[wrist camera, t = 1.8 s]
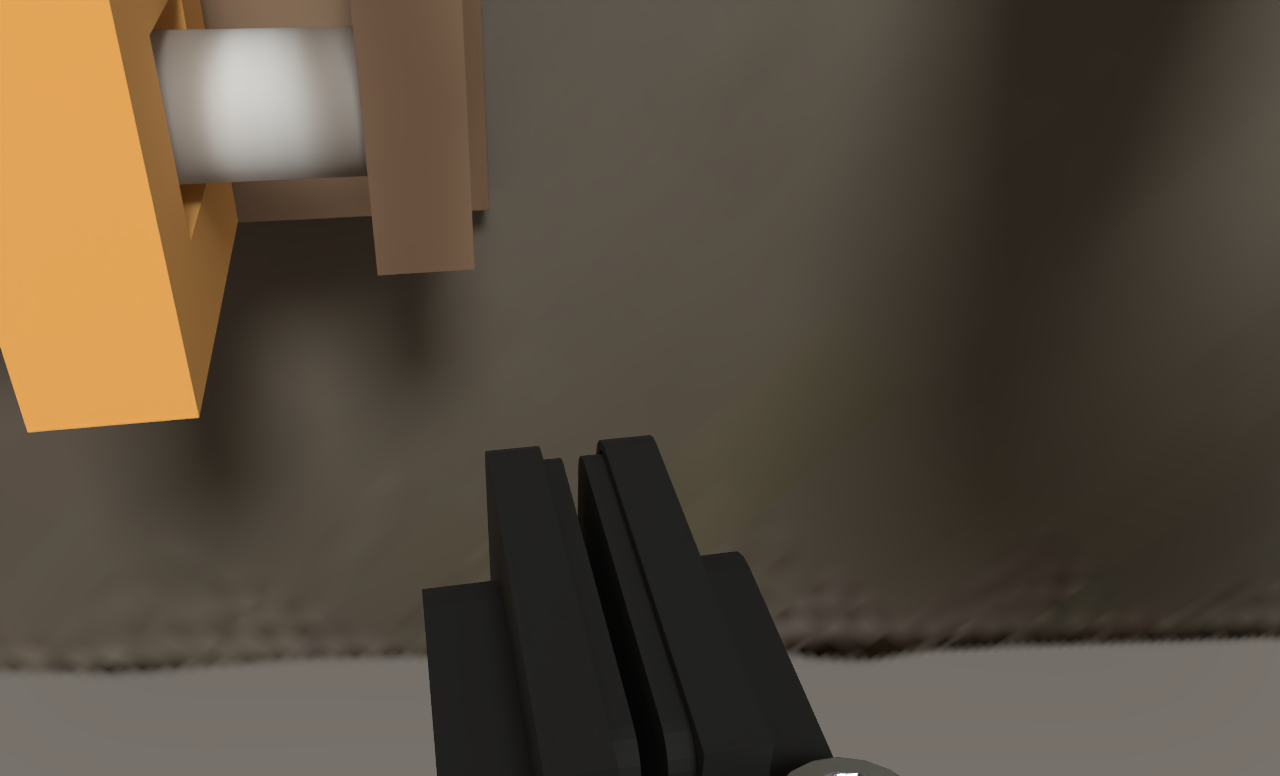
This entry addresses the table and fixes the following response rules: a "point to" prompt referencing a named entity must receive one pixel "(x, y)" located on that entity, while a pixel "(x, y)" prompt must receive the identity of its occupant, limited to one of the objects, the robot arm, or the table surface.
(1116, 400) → the table surface
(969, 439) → the table surface
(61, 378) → the collar
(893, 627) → the table surface
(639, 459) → the robot arm
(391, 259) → the pipe stand
